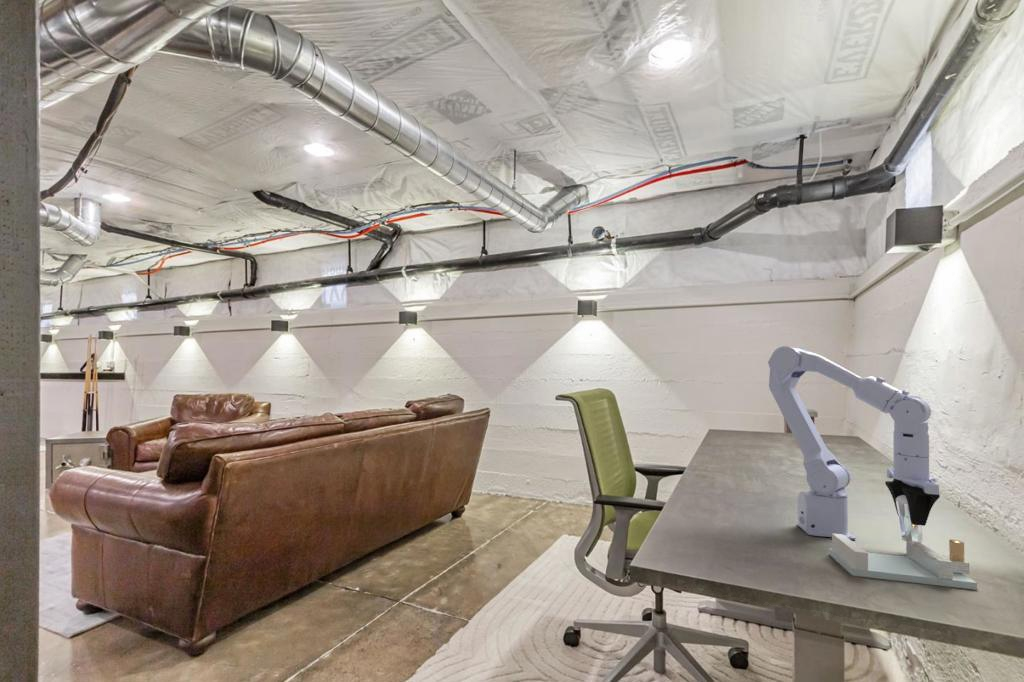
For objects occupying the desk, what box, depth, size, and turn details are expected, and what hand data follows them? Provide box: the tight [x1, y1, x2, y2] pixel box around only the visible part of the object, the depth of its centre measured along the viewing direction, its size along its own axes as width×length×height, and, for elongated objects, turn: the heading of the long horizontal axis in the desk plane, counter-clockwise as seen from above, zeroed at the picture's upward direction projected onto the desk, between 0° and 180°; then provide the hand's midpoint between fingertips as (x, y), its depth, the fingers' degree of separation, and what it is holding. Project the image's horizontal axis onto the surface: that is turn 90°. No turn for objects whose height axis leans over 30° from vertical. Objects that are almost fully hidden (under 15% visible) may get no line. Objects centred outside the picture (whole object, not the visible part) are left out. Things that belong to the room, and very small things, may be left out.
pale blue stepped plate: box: [828, 533, 978, 591], centre depth 89 cm, size 19×10×4 cm, turn 77°
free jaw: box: [905, 539, 970, 579], centre depth 88 cm, size 6×10×5 cm, turn 167°
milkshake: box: [896, 495, 924, 544], centre depth 98 cm, size 4×5×10 cm
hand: (911, 520), depth 98 cm, fingers closed on milkshake, 4 cm apart
